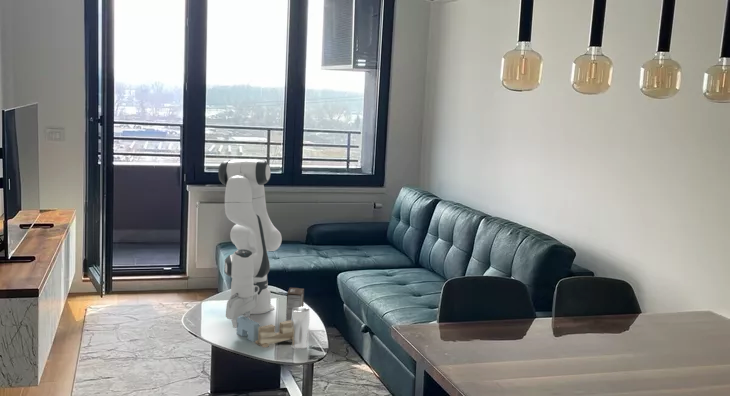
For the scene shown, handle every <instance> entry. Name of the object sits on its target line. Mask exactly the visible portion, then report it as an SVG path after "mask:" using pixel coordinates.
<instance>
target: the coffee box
mask: <svg viewBox="0 0 730 396" xmlns="http://www.w3.org/2000/svg"><path fill="white" fill-rule="evenodd" d="M304 302H305V288H299V287H289V288H288V291H287V293H286V311H285V312H286V313H285V315H286V316H285V321H289V320H291V318H292V309H293V308H295V307H305V305H304Z"/></svg>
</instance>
